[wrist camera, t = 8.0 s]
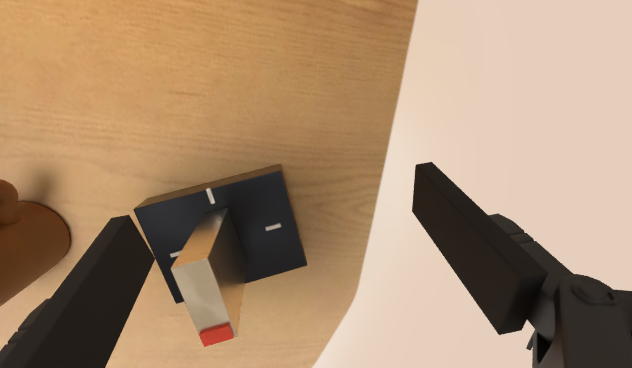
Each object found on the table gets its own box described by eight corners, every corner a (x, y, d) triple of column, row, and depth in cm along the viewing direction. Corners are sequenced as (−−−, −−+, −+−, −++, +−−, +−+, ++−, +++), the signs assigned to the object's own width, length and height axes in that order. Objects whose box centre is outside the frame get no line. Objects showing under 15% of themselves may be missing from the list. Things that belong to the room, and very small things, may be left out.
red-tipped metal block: (203, 213, 25) (168, 270, 16) (228, 207, 25) (206, 260, 17) (224, 270, 27) (202, 350, 18) (247, 264, 27) (236, 339, 18)
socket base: (279, 162, 28) (280, 169, 25) (304, 251, 31) (307, 267, 28) (146, 197, 27) (131, 208, 24) (185, 286, 30) (175, 306, 27)
